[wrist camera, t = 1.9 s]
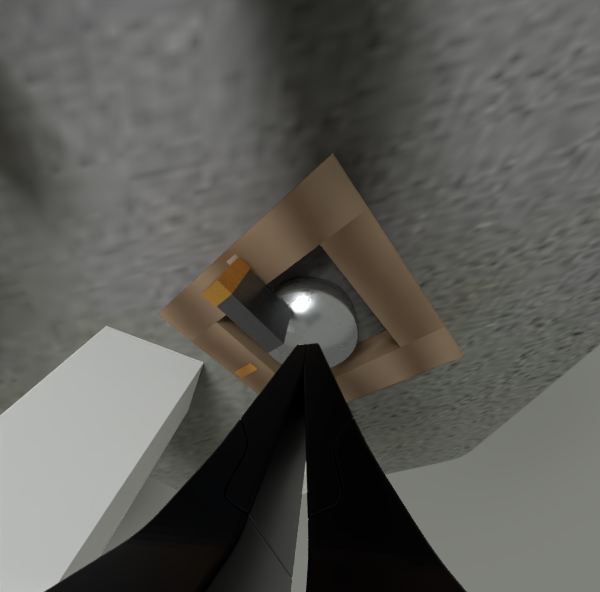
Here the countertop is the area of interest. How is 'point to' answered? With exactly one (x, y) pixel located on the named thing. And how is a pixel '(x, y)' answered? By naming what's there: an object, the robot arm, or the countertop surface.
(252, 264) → the surround
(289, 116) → the countertop surface
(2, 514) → the milk
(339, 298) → the dial
